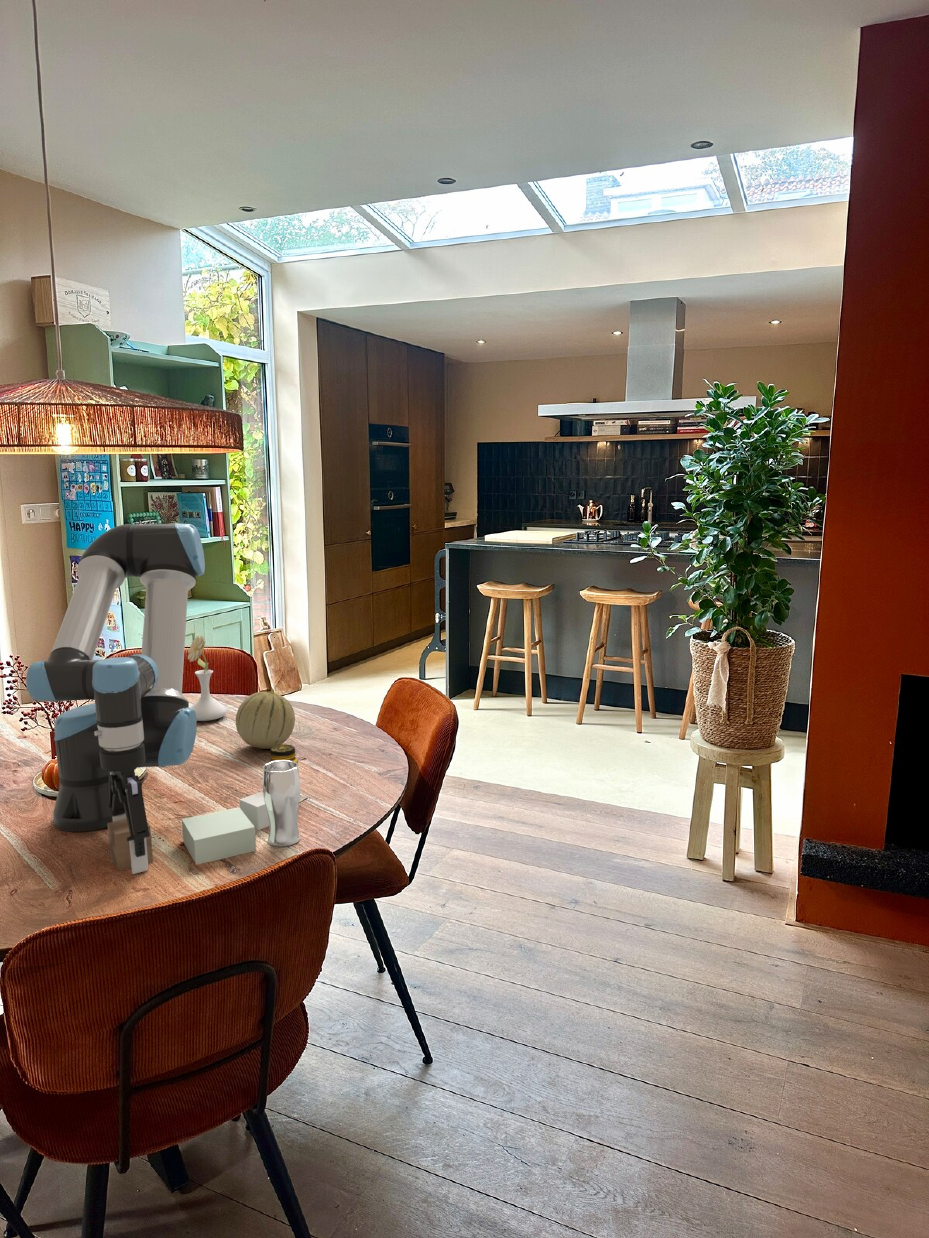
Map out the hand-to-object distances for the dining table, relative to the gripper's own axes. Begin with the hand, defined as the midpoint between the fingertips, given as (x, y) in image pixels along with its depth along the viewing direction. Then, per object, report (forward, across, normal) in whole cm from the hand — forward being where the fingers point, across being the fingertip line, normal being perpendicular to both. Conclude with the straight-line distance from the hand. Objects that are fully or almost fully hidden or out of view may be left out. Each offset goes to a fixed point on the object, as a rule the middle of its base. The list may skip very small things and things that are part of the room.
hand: (131, 859), depth 154 cm
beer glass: (0, +9, +26) cm, 27 cm away
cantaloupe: (0, -45, +45) cm, 64 cm away
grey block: (0, -2, +26) cm, 26 cm away
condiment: (0, -10, +34) cm, 35 cm away
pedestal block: (+1, +4, +15) cm, 16 cm away
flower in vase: (0, -79, +41) cm, 89 cm away
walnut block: (0, 0, 0) cm, 0 cm away
